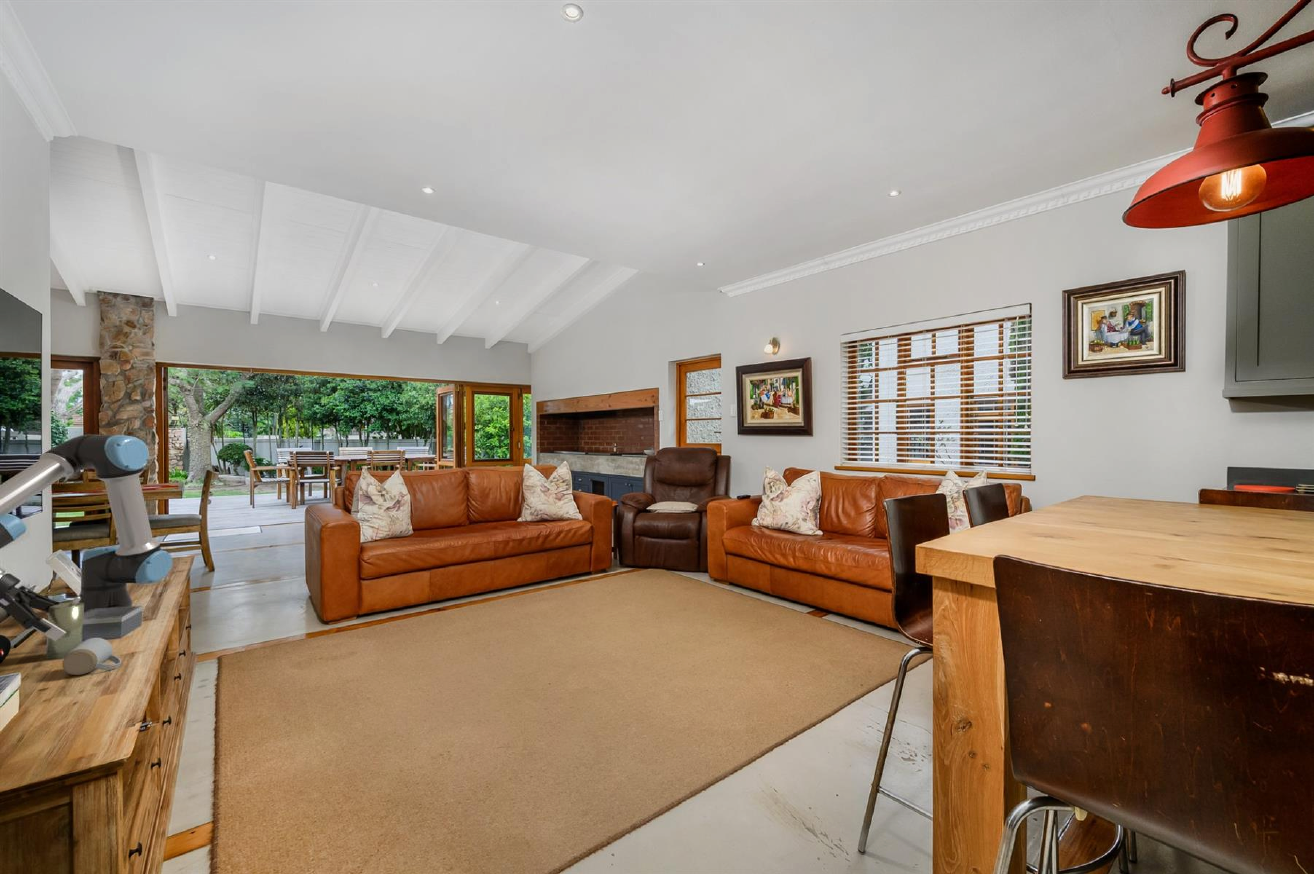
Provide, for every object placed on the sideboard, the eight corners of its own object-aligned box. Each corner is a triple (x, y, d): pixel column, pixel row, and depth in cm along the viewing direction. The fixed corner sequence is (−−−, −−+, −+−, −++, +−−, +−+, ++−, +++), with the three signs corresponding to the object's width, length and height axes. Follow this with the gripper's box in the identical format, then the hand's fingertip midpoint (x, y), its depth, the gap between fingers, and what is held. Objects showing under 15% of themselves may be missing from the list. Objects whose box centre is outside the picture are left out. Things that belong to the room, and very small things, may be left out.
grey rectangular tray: (96, 625, 183) (97, 606, 183) (145, 622, 188) (146, 603, 188) (66, 641, 168) (67, 620, 168) (120, 637, 173) (121, 617, 173)
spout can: (39, 660, 154) (42, 601, 154) (55, 651, 161) (58, 594, 161) (72, 658, 157) (75, 599, 157) (87, 649, 163) (90, 593, 163)
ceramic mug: (58, 678, 143) (60, 648, 143) (75, 666, 151) (77, 638, 151) (112, 673, 148) (114, 644, 148) (126, 662, 155) (128, 634, 155)
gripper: (-7, 584, 159) (65, 628, 167) (-45, 605, 139) (39, 654, 147) (21, 563, 162) (91, 608, 170) (-11, 581, 142) (69, 631, 150)
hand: (67, 629), depth 159 cm, fingers open, 13 cm apart
